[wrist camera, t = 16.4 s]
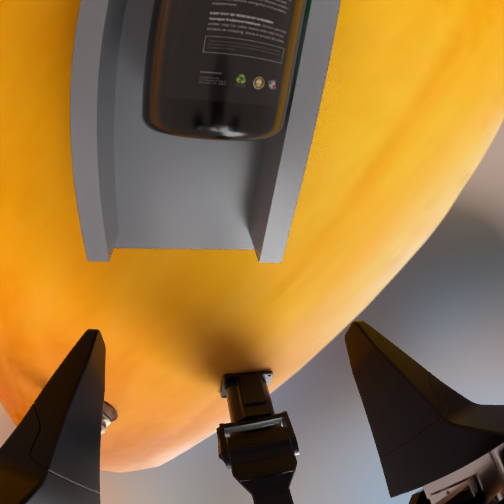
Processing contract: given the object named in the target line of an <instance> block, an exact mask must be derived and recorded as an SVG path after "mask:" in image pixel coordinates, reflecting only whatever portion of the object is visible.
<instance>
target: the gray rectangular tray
mask: <svg viewBox="0 0 504 504" xmlns="http://www.w3.org/2000/svg"><path fill="white" fill-rule="evenodd" d="M340 1H341V0H307V3H306V9H305V14H304V20H303V25H302V31H301V36H300V42H299V47H298V53H297V58H296V64H295V69H294V75H293V80H292V85H291V91H290V96H289V101H288V106H287V111H286V116H285V121H284V125H283V128H282V130H281V131H280V132H279V133H278V134H277V135H276V136H274V137H272V138H269V139H264V140H254V141H223V140H206V139H195V138H186V137H179V136H173V135H167V134H163V133H159V132H156V131H154V130H151V129H150V128H148V127H147V126H146V125H145V123H144V121H143V119H142V91H143V78H144V67H145V58H146V50H147V42H148V35H149V28H150V22H151V16H152V10H153V4H154V0H81V3H80V8H79V14H78V20H77V26H76V32H75V40H74V48H73V58H72V71H71V90H70V132H71V152H72V165H73V176H74V185H75V193H76V200H77V207H78V214H79V220H80V226H81V231H82V236H83V242H84V246H85V251H86V256H87V260H88V261H107V262H109V261H110V258H111V254H112V251H113V248H158V249H246V250H255V252H256V255H257V258H258V261H259V263H281V262H282V258H283V254H284V251H285V247H286V243H287V239H288V236H289V232H290V228H291V224H292V220H293V216H294V212H295V208H296V204H297V200H298V197H299V192H300V188H301V184H302V180H303V176H304V172H305V168H306V164H307V160H308V155H309V151H310V147H311V143H312V138H313V134H314V130H315V125H316V121H317V116H318V112H319V107H320V103H321V98H322V93H323V89H324V84H325V79H326V74H327V70H328V65H329V60H330V55H331V50H332V45H333V39H334V34H335V29H336V24H337V18H338V13H339V7H340Z"/></svg>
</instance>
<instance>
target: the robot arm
mask: <svg viewBox="0 0 504 504" xmlns="http://www.w3.org/2000/svg"><path fill="white" fill-rule="evenodd" d="M345 343H346V346H347V351H348V355H349V359H350V364H351V368H352V372H353V375H354V378H355V381H356V384H357V387H358V390H359V393H360V396H361V399H362V402H363V405H364V408H365V411H366V415H367V418H368V421H369V424H370V427H371V430H372V433H373V437H374V440H375V443H376V447H377V450H378V454H379V457H380V461H381V464H382V468H383V472H384V475H385V479H386V483H387V486H388V490H389V494H390V497H391V498H392V497H395V496H398V495H401V494H404V493H407V492H409V491H412V490H415V489H417V488H420V487H423V489H421V490H420V491H418V492H416V493H415V494H413V495H412V497H411V499H410V502H409V504H504V405H480V404H476V403H473V402H471V401H469V400H468V399H466V398H465V397H463V396H462V395H460V394H458V393H457V392H456V391H454V390H453V389H451V388H450V387H448V386H447V385H446V384H444V383H443V382H441V381H440V380H439V379H437V378H436V377H435V376H433V375H432V374H431V373H430V372H428V371H427V370H426V369H425V368H423V367H422V366H421V365H420V364H418V363H417V362H416V361H415V360H413V359H412V358H411V357H409V356H408V355H407V354H406V353H404V352H403V351H402V350H400V349H399V348H398V347H397V346H395V345H394V344H393V343H391V342H390V341H389V340H388V339H386V338H385V337H384V336H383V335H381V334H380V333H379V332H378V331H376V330H375V329H374V328H372V327H371V326H370V325H369V324H367V323H366V322H365V321H363V320H359V321H354V322H352V324H351V326H350V327H349V329H348V331H347V333H346V335H345ZM105 354H106V348H105V343H104V341H103V338H102V335H101V332H100V331H99V330H98V329H88V330H87V331H86V332H85V333H84V334H83V336H82V337H81V338H80V339H79V341H78V342H77V343H76V345H75V346H74V347H73V349H72V350H71V351H70V353H69V354H68V355H67V356H66V358H65V359H64V361H63V362H62V363H61V365H60V366H59V367H58V369H57V370H56V371H55V373H54V374H53V376H52V377H51V378H50V380H49V381H48V383H47V384H46V386H45V387H44V388H43V390H42V391H41V393H40V394H39V396H38V397H37V399H36V400H35V402H34V404H32V406H31V407H30V409H29V411H28V412H27V413H26V415H25V416H24V418H23V419H22V421H21V422H20V424H19V425H18V426H17V427H16V429H15V430H14V431H13V433H12V434H11V435H10V437H9V438H8V439H7V440H6V441H5V443H4V444H3V445H2V447H1V448H0V504H100V494H99V493H100V441H101V425H102V413H103V403H104V392H105ZM272 376H273V372H272V371H266V372H256V373H245V374H232V375H225V376H224V377H223V384H222V390H221V397H222V398H227V402H228V407H229V413H230V419H231V423H226V424H224V423H222V424H219V426H220V427H219V428H217V434H218V448H219V449H218V451H219V458H220V459H221V460H223V461H224V463H225V464H226V467H227V468H231V469H232V474H233V476H234V478H236V480H237V481H238V482H239V483H240V484H241V485H242V486H243V487H244V488H245V489H246V490H247V491H248V492H249V493H250V494H251V495H252V497H253V500H254V504H294V503H293V500H292V496H291V493H290V489H289V487H290V485H291V482H292V479H293V476H294V473H295V470H296V466H297V460H296V457H295V455H299V449H298V444H297V440H296V437H295V434H294V431H293V428H292V425H291V422H290V420H289V417H288V414H287V412H286V411H284V412H282V413H279V414H275V413H274V409H273V405H272V401H271V398H270V394H269V390H268V385H269V383H270V381H271V379H272ZM282 426H283V427H282Z"/></svg>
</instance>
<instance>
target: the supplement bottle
mask: <svg viewBox="0 0 504 504" xmlns="http://www.w3.org/2000/svg"><path fill="white" fill-rule="evenodd" d="M306 3H307V0H154V4H153V10H152V16H151V22H150V28H149V35H148V42H147V50H146V58H145V67H144V78H143V91H142V119H143V121H144V123H145V125H146V126H147V127H148V128H150V129H151V130H154V131H156V132H159V133H163V134H167V135H173V136H179V137H186V138H195V139H206V140H223V141H254V140H264V139H269V138H272V137H274V136H276V135H277V134H278V133H279V132H280V131H281V130H282V128H283V125H284V121H285V116H286V111H287V106H288V101H289V96H290V91H291V85H292V80H293V75H294V69H295V64H296V58H297V53H298V47H299V42H300V36H301V31H302V25H303V20H304V14H305V9H306Z"/></svg>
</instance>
